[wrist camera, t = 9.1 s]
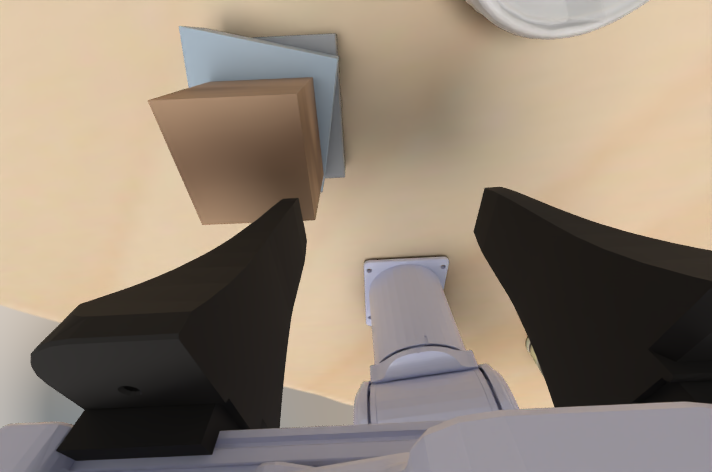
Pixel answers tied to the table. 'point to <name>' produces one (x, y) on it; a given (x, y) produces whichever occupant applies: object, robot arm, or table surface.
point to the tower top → (261, 67)
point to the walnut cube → (244, 146)
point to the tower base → (336, 144)
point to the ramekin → (553, 15)
